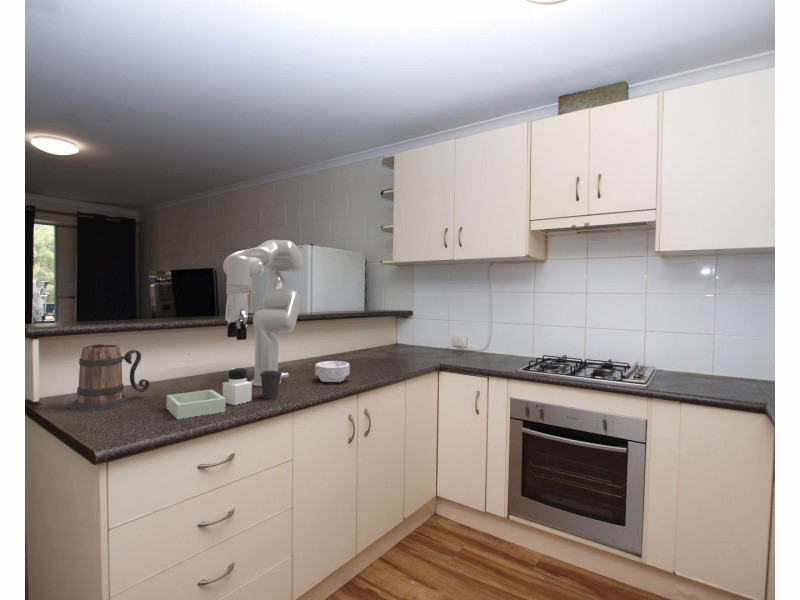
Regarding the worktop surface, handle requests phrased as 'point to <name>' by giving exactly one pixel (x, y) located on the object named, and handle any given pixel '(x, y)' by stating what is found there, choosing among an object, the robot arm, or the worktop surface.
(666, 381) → the worktop surface
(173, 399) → the box
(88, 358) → the tankard
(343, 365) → the white ceramic bowl
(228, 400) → the medicine bottle
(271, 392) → the coffee cup
